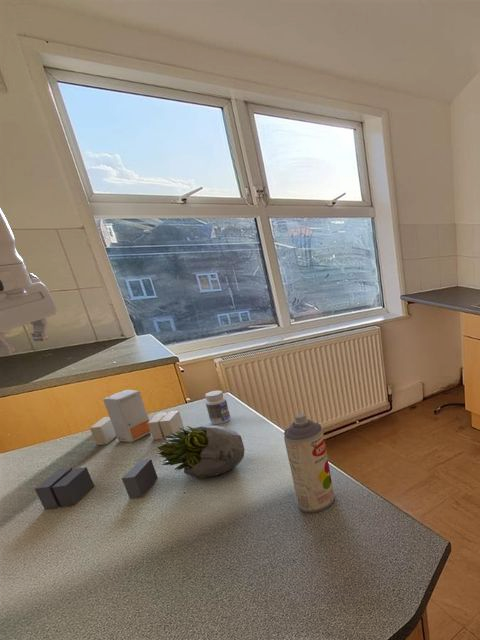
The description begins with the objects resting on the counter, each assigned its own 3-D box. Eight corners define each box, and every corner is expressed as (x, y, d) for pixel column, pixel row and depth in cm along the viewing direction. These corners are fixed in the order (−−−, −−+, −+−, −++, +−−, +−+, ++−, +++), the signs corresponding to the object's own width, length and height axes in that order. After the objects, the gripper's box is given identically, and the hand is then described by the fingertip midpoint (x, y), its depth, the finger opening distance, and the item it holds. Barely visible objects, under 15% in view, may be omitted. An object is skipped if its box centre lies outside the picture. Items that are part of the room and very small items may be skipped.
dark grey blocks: (44, 509, 85) (34, 488, 83) (67, 488, 91) (58, 468, 89) (142, 497, 89) (134, 476, 87) (158, 477, 95) (151, 458, 93)
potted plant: (246, 466, 94) (158, 474, 84) (235, 480, 103) (154, 489, 93) (243, 414, 98) (158, 416, 88) (233, 432, 106) (154, 435, 96)
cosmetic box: (132, 442, 109) (116, 400, 104) (117, 441, 109) (101, 398, 105) (154, 431, 114) (140, 390, 110) (140, 430, 115) (125, 389, 110)
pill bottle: (227, 423, 119) (220, 395, 116) (208, 425, 118) (200, 397, 115) (233, 415, 123) (226, 389, 120) (214, 417, 122) (207, 390, 119)
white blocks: (96, 445, 107) (89, 427, 105) (110, 434, 113) (103, 417, 111) (174, 437, 112) (168, 420, 110) (184, 426, 117) (178, 410, 115)
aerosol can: (329, 512, 86) (313, 423, 78) (293, 514, 85) (273, 424, 77) (338, 491, 92) (324, 407, 84) (305, 492, 91) (288, 408, 84)
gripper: (17, 271, 92) (41, 334, 97) (-73, 288, 74) (-37, 363, 79) (53, 271, 94) (75, 332, 99) (-26, 287, 76) (6, 361, 81)
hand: (25, 346), depth 89 cm, fingers open, 8 cm apart
